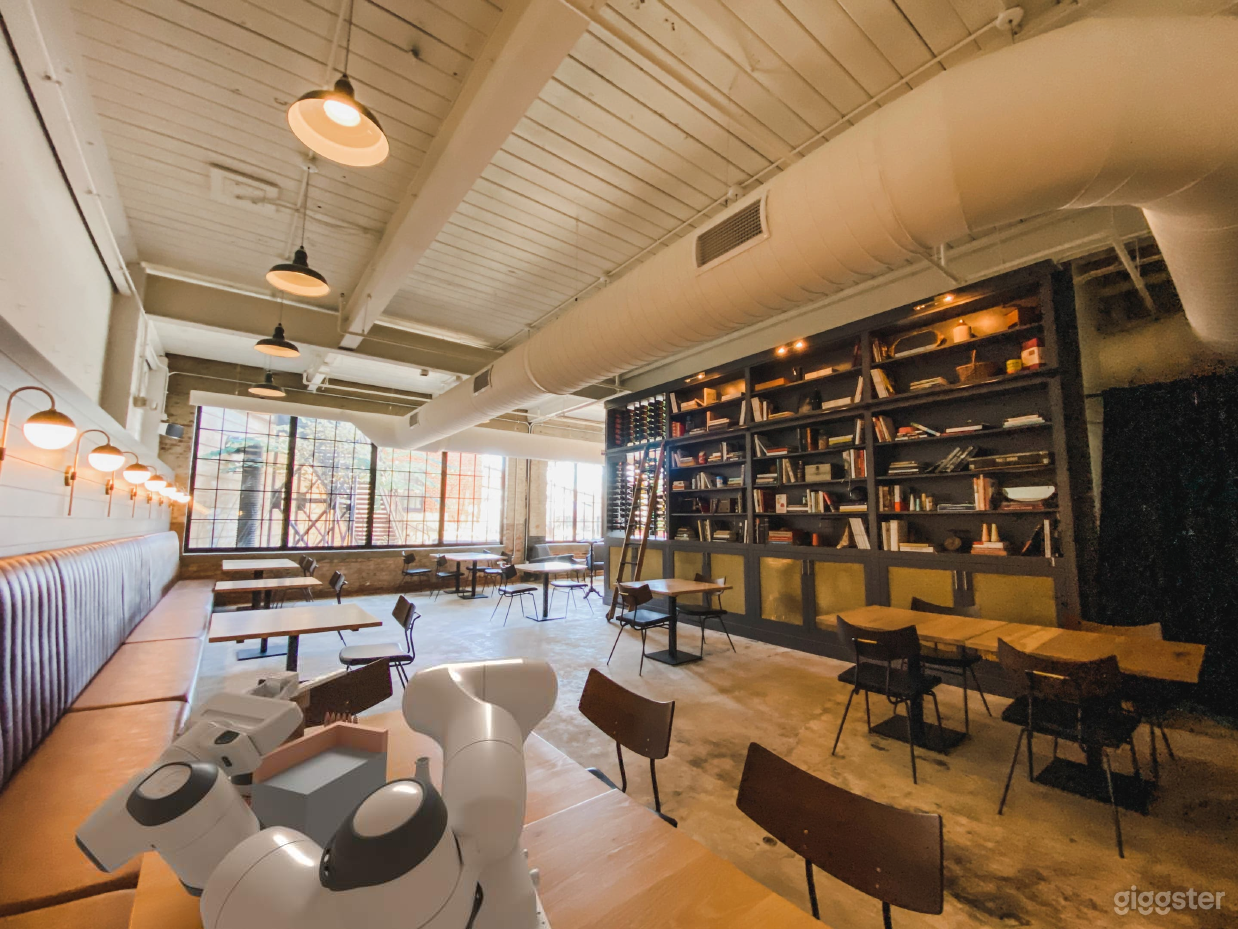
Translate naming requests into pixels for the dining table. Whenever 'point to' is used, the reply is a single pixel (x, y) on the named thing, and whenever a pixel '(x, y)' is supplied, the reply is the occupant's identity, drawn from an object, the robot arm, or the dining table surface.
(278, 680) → the aluminium bracket
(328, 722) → the ammunition clip
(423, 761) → the flask
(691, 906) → the dining table surface
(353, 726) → the terracotta walls
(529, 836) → the dining table surface
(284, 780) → the slate crate
